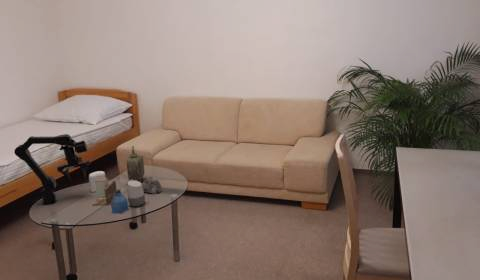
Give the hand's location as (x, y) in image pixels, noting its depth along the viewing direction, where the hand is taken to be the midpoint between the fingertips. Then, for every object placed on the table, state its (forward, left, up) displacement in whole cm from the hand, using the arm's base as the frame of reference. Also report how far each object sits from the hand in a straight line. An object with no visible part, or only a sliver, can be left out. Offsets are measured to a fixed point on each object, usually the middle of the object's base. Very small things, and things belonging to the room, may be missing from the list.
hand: (77, 179), depth 259 cm
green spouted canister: (+33, +19, -12) cm, 40 cm away
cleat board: (+15, -9, -12) cm, 22 cm away
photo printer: (+9, +12, -13) cm, 20 cm away
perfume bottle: (+26, -28, -13) cm, 41 cm away
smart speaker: (+35, -22, -13) cm, 44 cm away
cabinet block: (+15, -9, -11) cm, 21 cm away
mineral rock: (+43, -3, -13) cm, 45 cm away
